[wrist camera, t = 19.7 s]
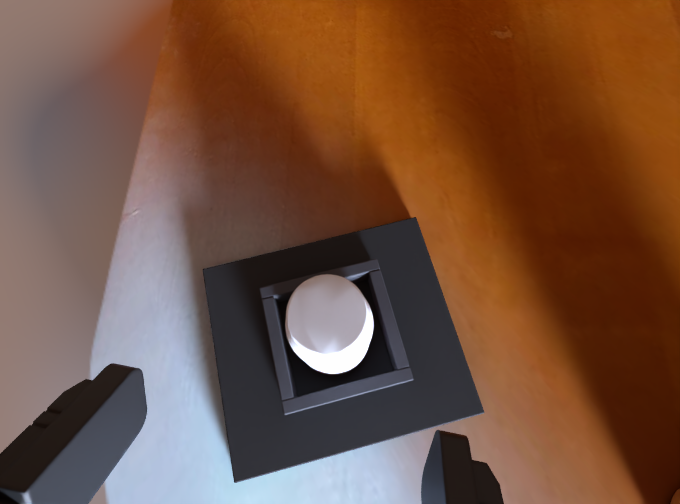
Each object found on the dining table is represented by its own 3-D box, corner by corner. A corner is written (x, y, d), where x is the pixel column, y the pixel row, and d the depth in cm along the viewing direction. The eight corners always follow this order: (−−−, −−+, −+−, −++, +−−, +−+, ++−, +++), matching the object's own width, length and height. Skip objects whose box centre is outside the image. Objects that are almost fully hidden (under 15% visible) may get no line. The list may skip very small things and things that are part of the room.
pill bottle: (383, 334, 28) (397, 308, 20) (337, 391, 26) (331, 388, 18) (330, 289, 29) (322, 248, 21) (283, 342, 28) (256, 319, 20)
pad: (238, 480, 26) (224, 490, 23) (206, 273, 30) (192, 260, 27) (480, 412, 27) (495, 414, 24) (414, 222, 31) (420, 204, 29)
